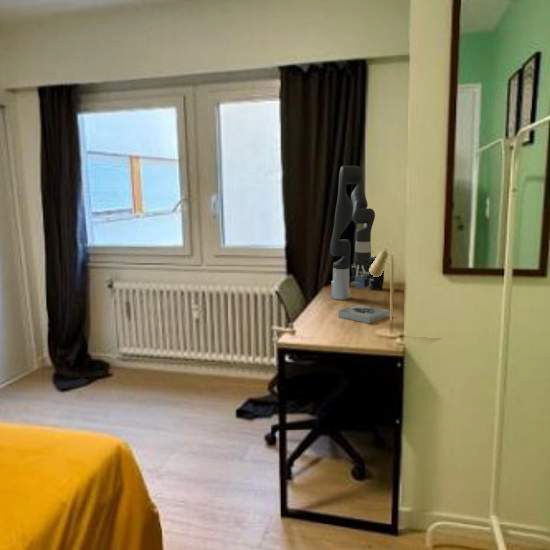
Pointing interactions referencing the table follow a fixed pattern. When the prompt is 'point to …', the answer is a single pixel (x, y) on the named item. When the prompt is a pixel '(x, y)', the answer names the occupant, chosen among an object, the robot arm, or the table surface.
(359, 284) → the servo
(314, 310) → the table surface
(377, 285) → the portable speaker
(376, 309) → the chassis
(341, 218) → the robot arm
